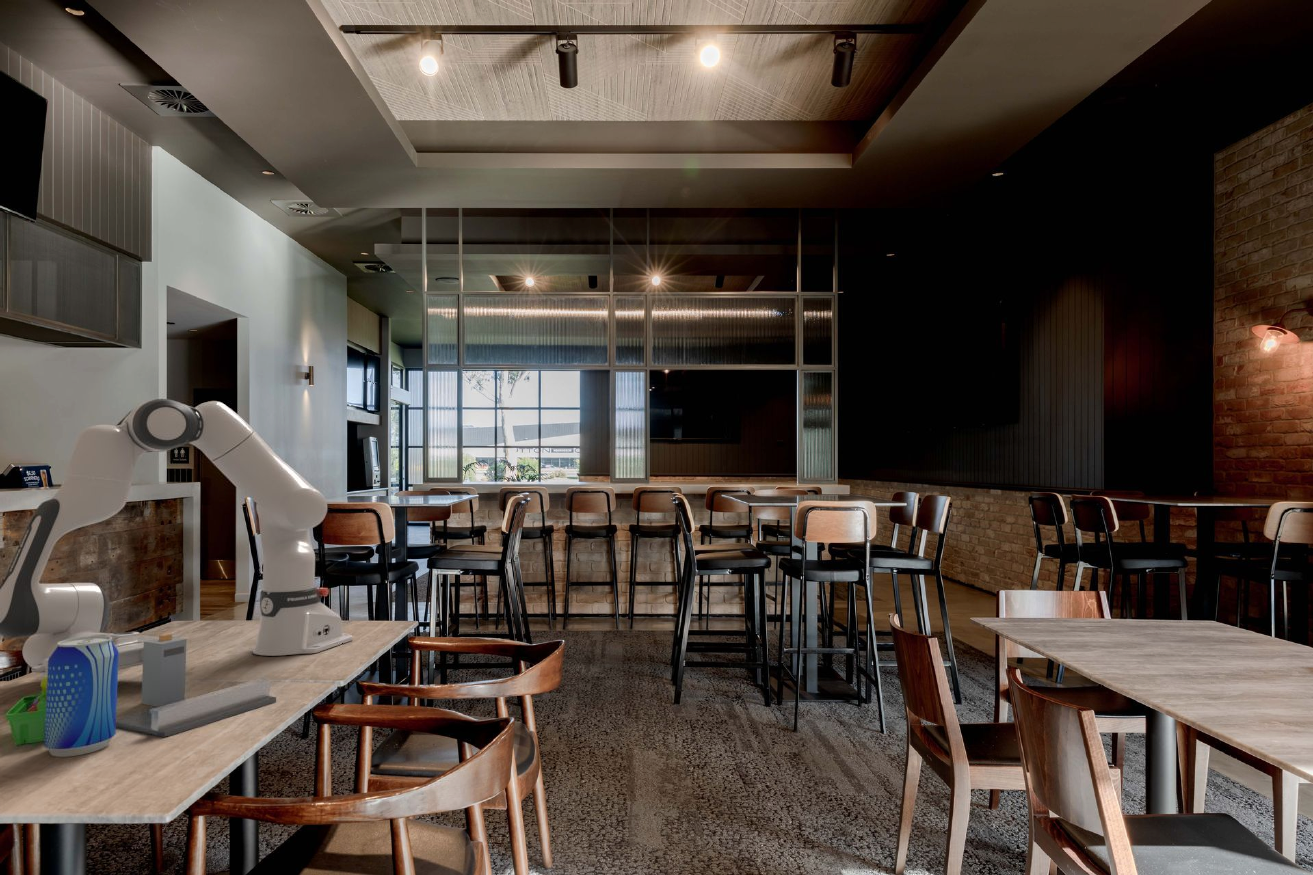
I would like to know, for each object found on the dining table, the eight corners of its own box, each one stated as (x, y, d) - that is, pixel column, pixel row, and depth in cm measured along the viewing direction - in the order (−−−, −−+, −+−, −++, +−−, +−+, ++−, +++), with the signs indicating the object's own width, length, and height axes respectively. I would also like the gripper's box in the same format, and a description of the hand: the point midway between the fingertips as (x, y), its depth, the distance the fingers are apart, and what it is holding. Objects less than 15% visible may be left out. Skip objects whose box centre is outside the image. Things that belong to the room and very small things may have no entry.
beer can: (128, 741, 113) (132, 636, 114) (69, 761, 105) (74, 648, 106) (90, 735, 116) (94, 632, 117) (29, 754, 108) (35, 644, 109)
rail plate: (223, 692, 139) (223, 672, 139) (276, 701, 133) (276, 680, 133) (108, 725, 120) (109, 701, 121) (164, 737, 115) (165, 712, 115)
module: (166, 696, 136) (168, 631, 137) (184, 699, 134) (186, 633, 135) (141, 703, 132) (143, 635, 133) (159, 706, 130) (162, 638, 131)
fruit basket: (21, 727, 120) (25, 657, 120) (89, 718, 124) (92, 650, 125) (1, 749, 110) (5, 673, 110) (76, 739, 114) (79, 665, 115)
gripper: (26, 651, 133) (72, 658, 128) (143, 629, 152) (188, 635, 147) (25, 686, 133) (70, 695, 128) (142, 660, 152) (186, 667, 146)
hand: (134, 663), depth 137 cm, fingers open, 8 cm apart
